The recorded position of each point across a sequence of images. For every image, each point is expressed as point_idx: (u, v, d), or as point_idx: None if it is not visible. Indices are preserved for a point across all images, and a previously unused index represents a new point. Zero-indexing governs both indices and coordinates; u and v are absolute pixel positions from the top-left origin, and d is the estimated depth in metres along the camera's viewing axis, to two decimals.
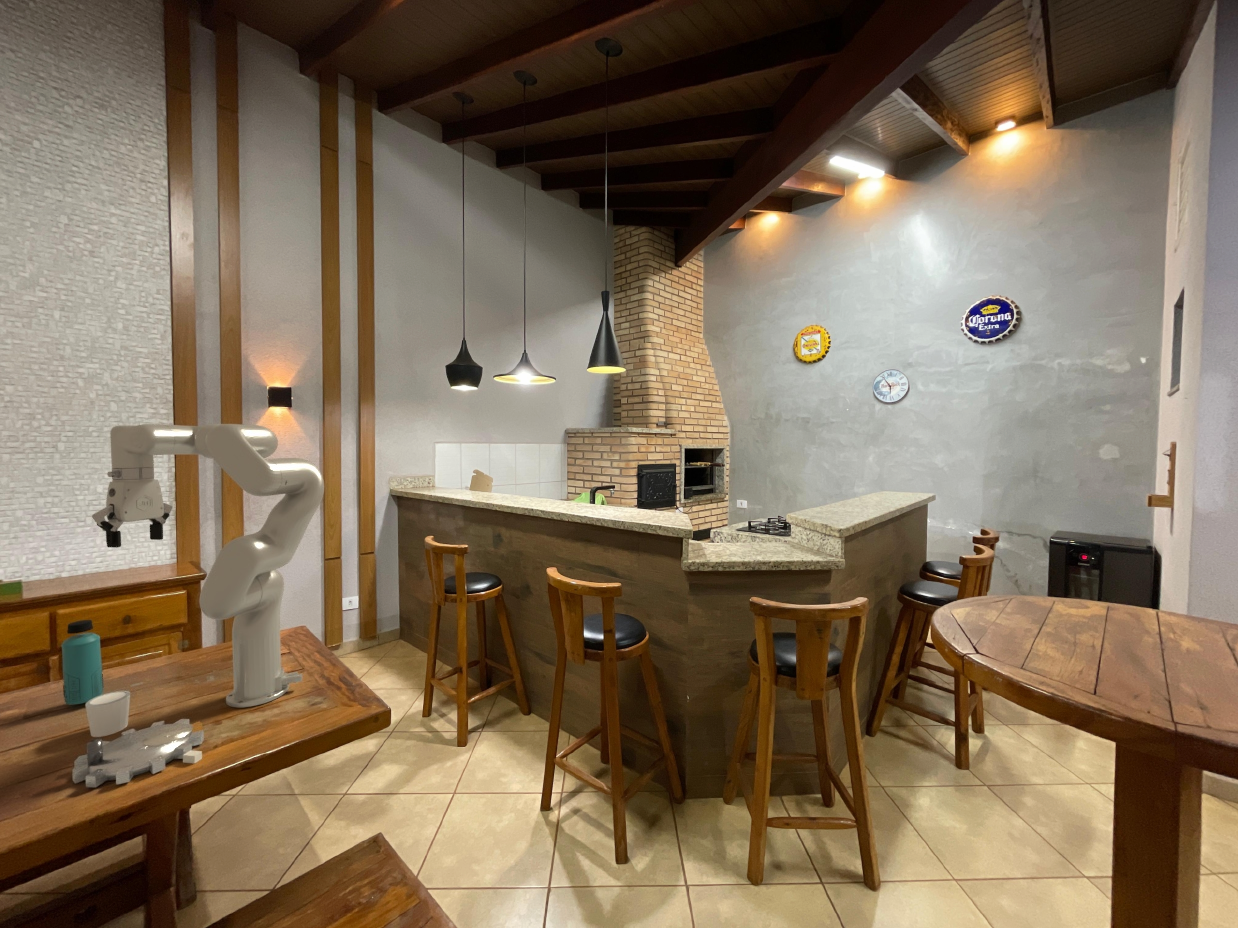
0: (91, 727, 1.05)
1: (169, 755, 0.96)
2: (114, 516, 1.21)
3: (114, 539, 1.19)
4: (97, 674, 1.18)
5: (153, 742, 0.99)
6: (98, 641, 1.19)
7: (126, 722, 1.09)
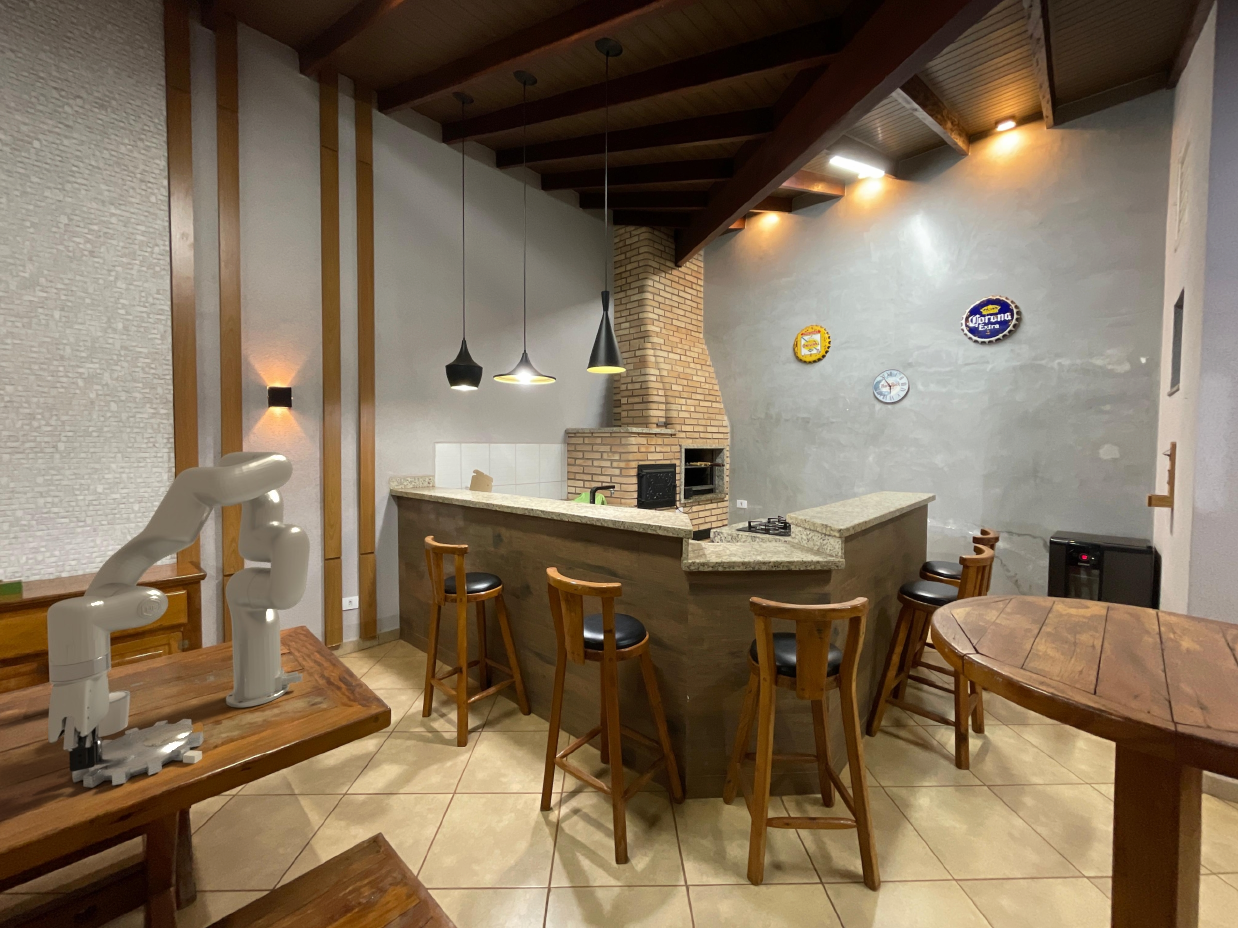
0: None
1: (166, 756, 0.96)
2: None
3: None
4: None
5: (152, 742, 0.98)
6: None
7: (126, 722, 1.09)
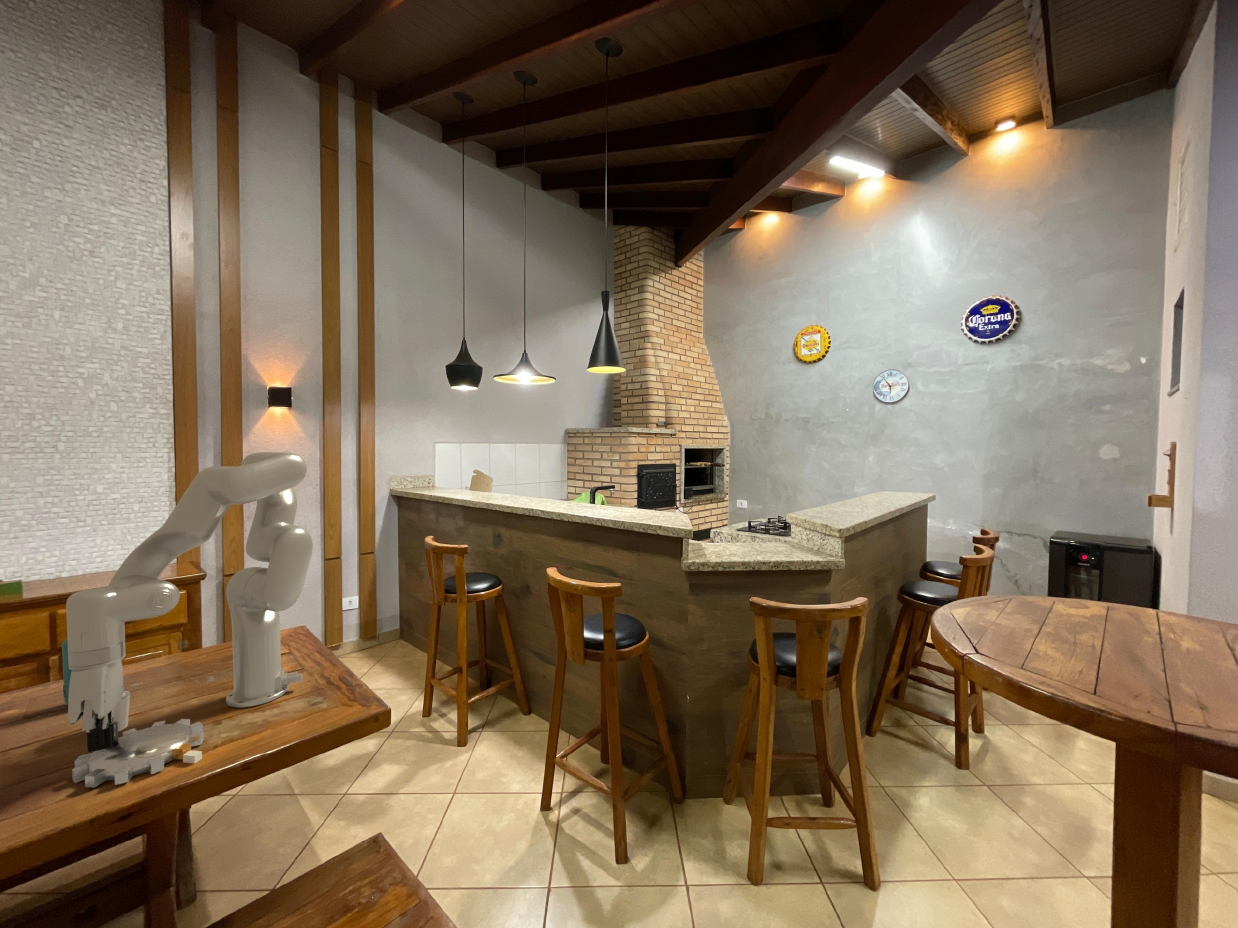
0: None
1: (113, 773, 0.91)
2: None
3: None
4: None
5: (142, 747, 0.97)
6: None
7: (126, 722, 1.09)
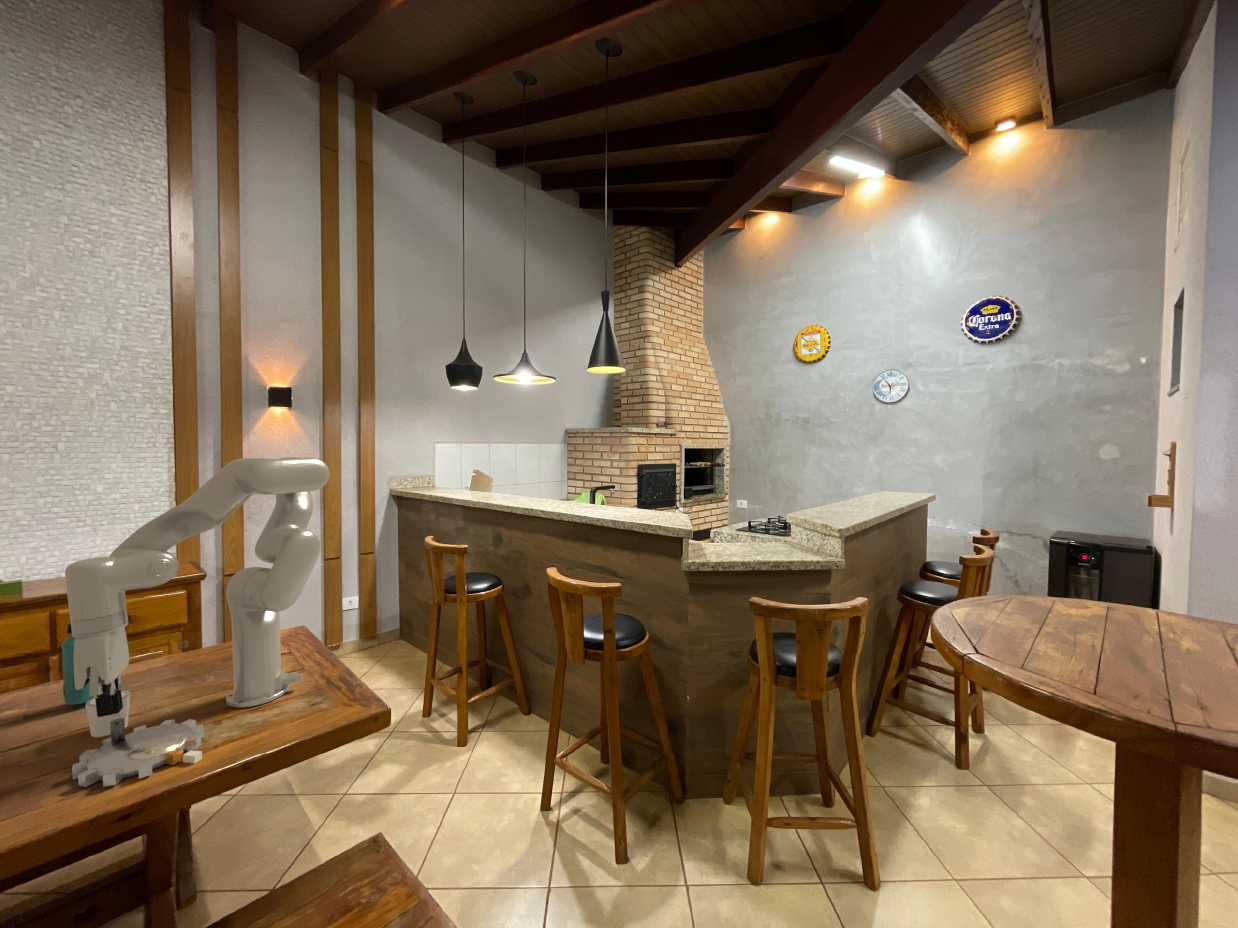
0: (91, 727, 1.05)
1: (105, 774, 0.91)
2: None
3: None
4: None
5: (140, 748, 0.97)
6: None
7: (126, 722, 1.09)
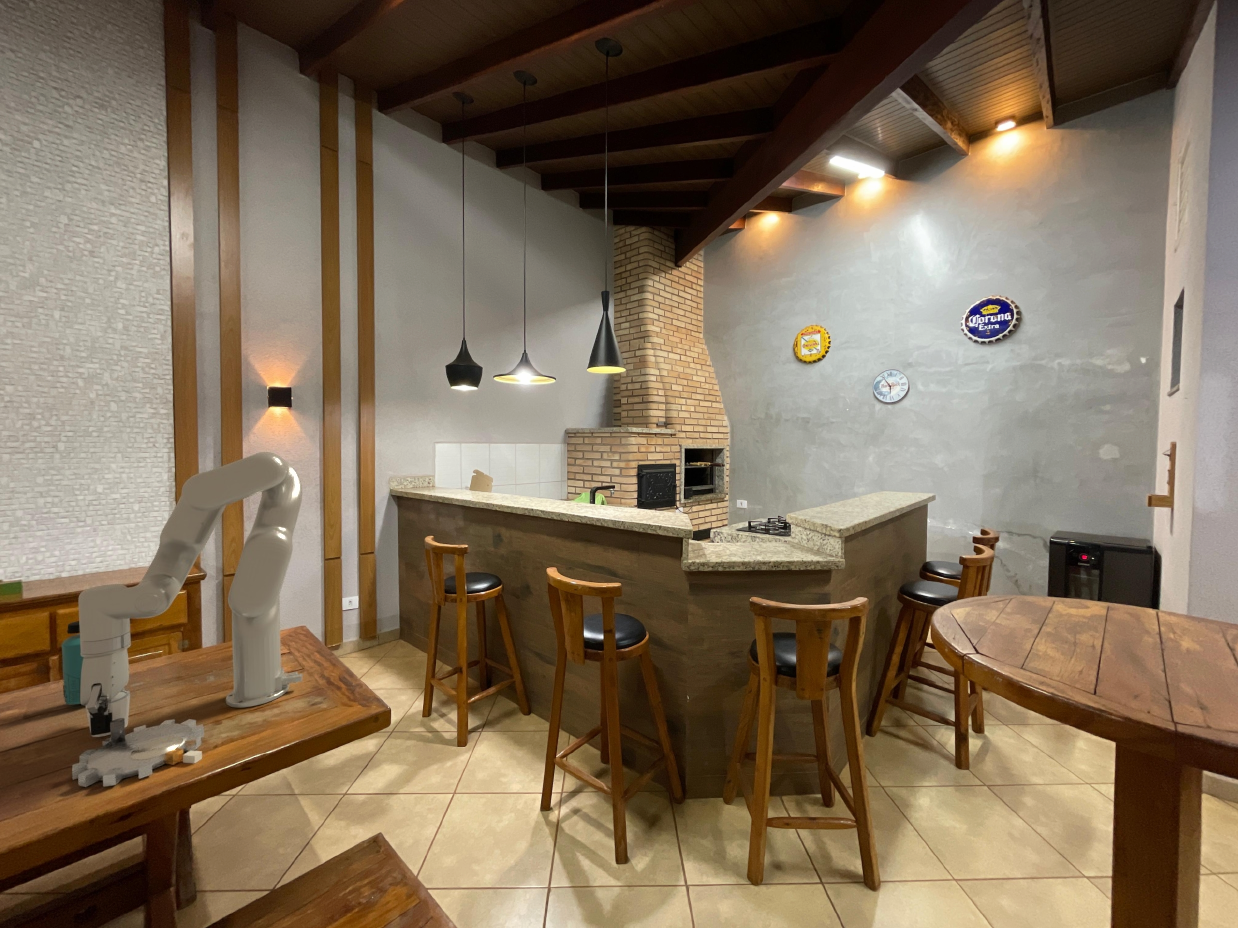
0: None
1: (105, 774, 0.91)
2: None
3: None
4: None
5: (140, 748, 0.97)
6: None
7: (126, 722, 1.09)
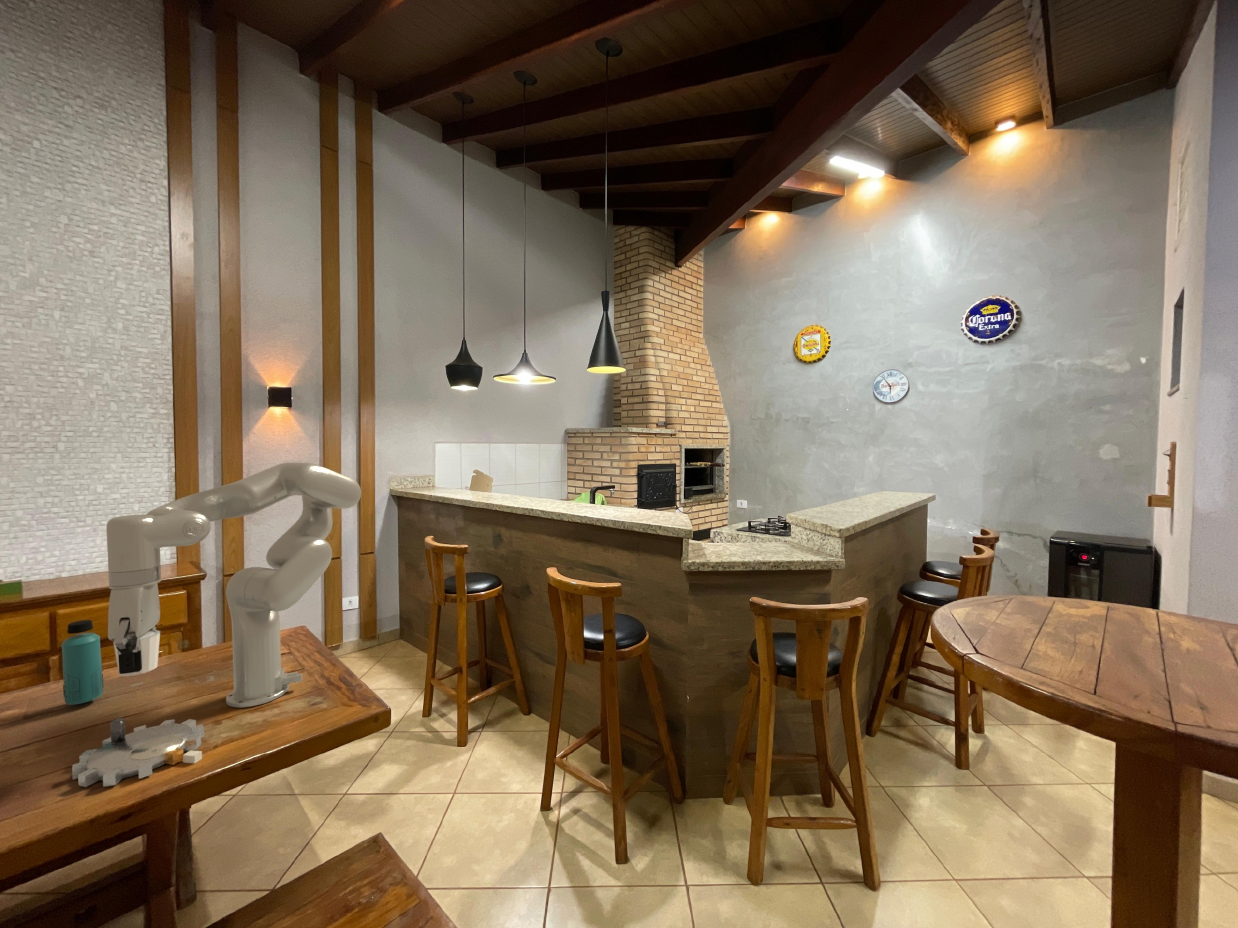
0: None
1: (105, 774, 0.91)
2: None
3: None
4: (97, 674, 1.18)
5: (140, 748, 0.97)
6: (98, 641, 1.19)
7: (156, 663, 1.01)
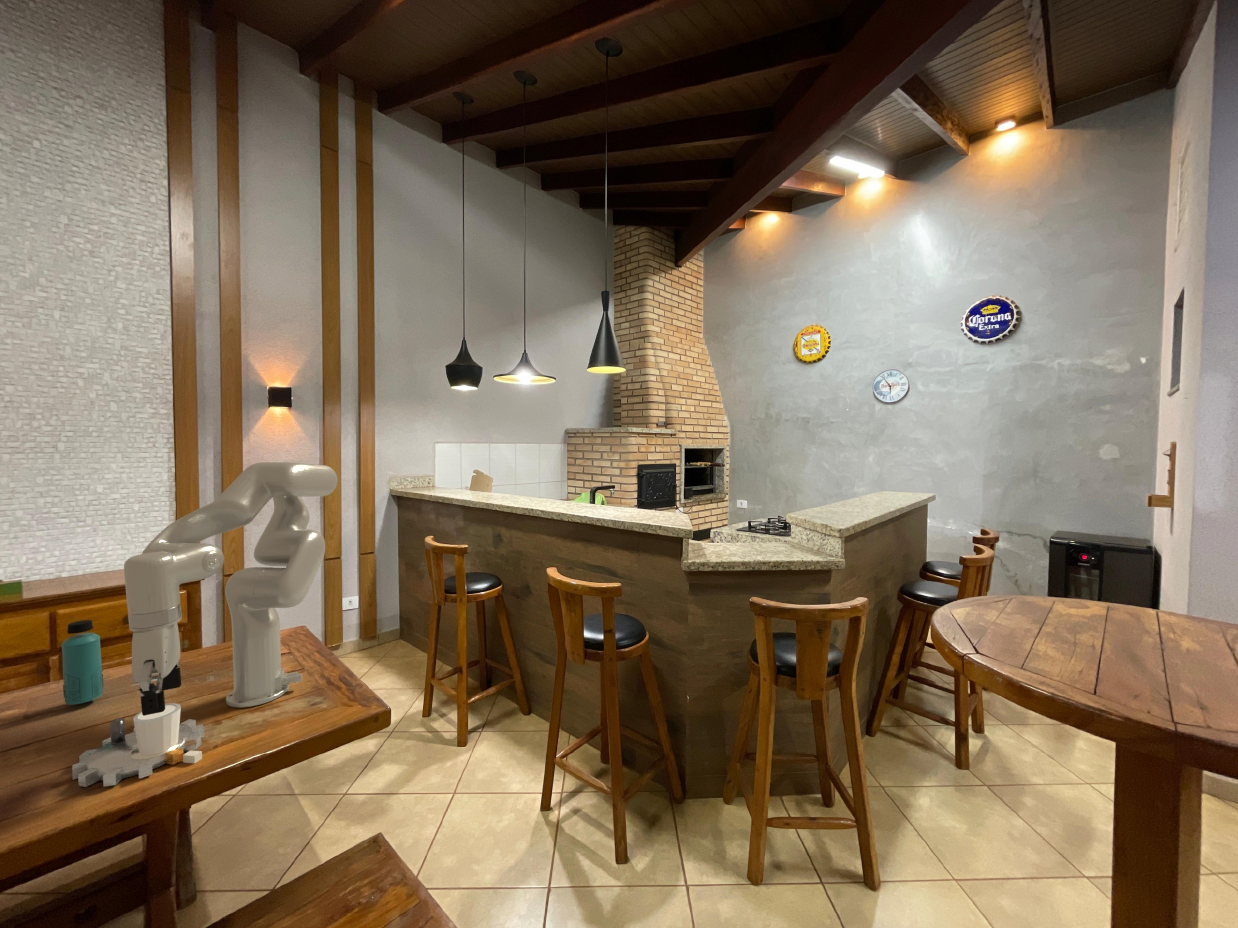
0: (140, 745, 0.94)
1: (105, 774, 0.91)
2: None
3: None
4: (97, 674, 1.18)
5: None
6: (98, 641, 1.19)
7: (177, 738, 0.98)
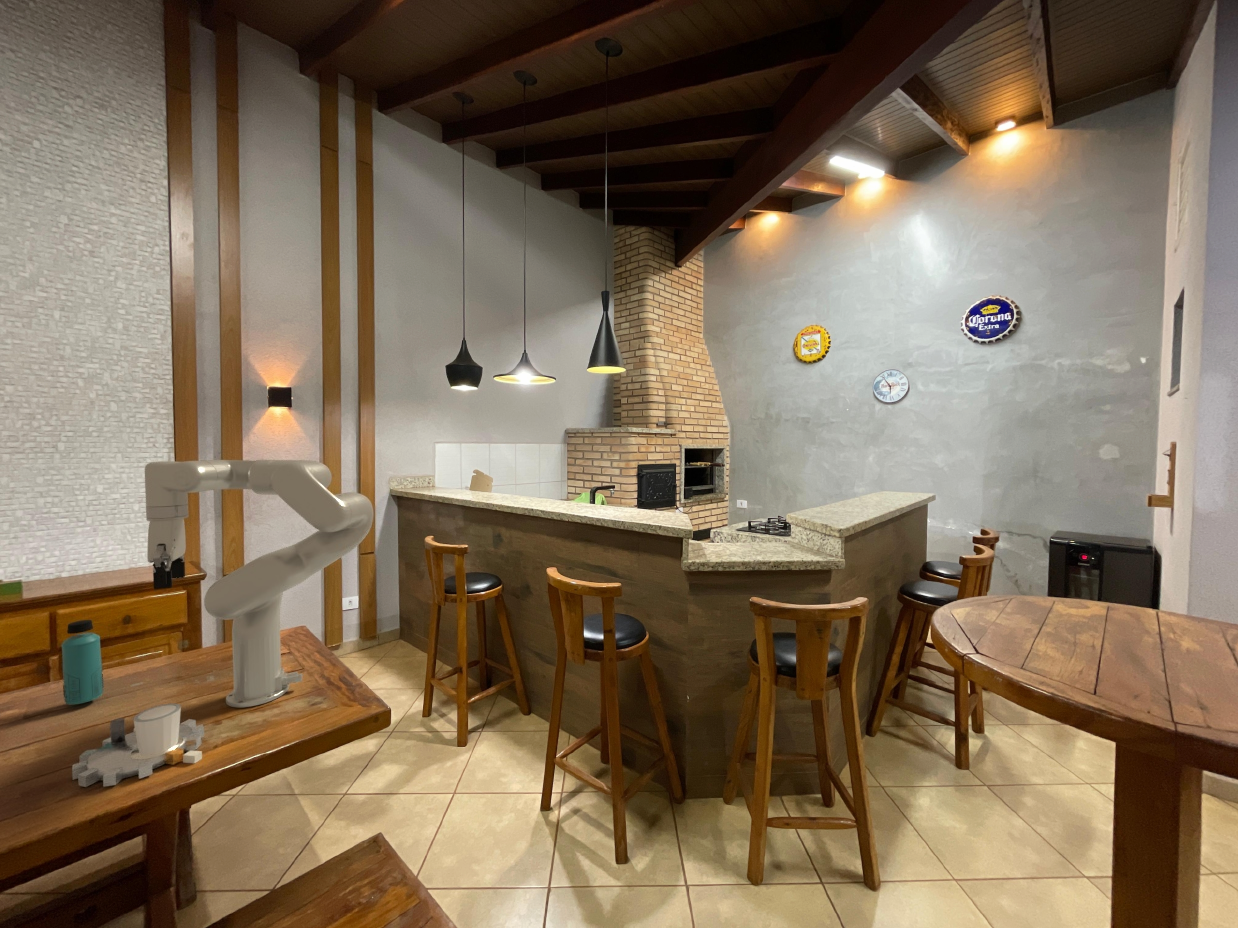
0: (140, 745, 0.94)
1: (105, 774, 0.91)
2: None
3: None
4: (97, 674, 1.18)
5: None
6: (98, 641, 1.19)
7: (177, 738, 0.98)
